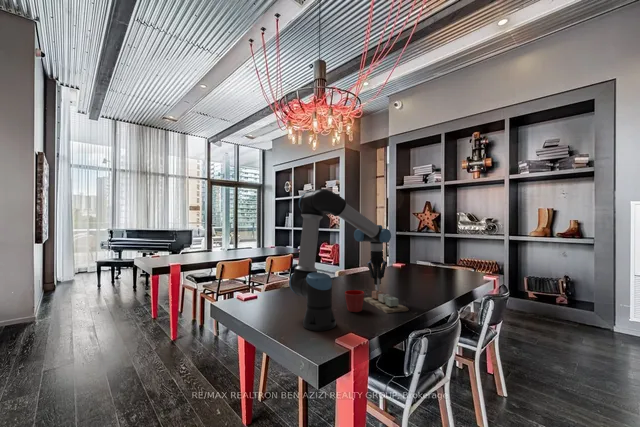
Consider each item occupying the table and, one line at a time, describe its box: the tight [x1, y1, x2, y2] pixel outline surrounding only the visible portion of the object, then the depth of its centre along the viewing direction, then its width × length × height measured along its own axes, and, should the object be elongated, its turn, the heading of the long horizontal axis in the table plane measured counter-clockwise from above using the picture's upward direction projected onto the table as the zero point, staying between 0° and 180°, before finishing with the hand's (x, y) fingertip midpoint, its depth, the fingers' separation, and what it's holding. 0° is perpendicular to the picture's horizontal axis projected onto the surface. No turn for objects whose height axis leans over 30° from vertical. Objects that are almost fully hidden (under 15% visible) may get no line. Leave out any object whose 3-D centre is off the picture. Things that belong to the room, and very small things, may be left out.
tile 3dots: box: [371, 290, 384, 299], centre depth 171 cm, size 5×5×4 cm
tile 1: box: [377, 293, 392, 303], centre depth 164 cm, size 5×5×4 cm
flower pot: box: [344, 289, 365, 313], centre depth 155 cm, size 11×11×10 cm
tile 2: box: [385, 296, 399, 306], centre depth 156 cm, size 5×5×4 cm
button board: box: [363, 296, 409, 314], centre depth 164 cm, size 27×13×2 cm, turn 17°
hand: (377, 289), depth 171 cm, fingers closed
